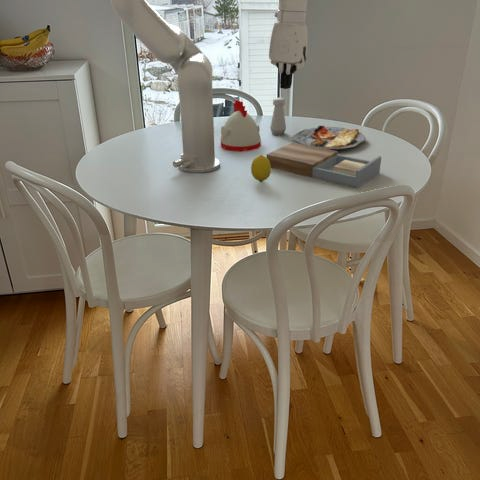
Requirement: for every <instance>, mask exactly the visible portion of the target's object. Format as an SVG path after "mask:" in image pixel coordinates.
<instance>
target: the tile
mask: <svg viewBox="0 0 480 480" xmlns="http://www.w3.org/2000/svg"><path fill="white" fill-rule="evenodd" d="M364 165H366V164H363V163H358V162H353V161H348V160H344V161H342V162H340V163H339V164H337V165H335V166H334V172H338V173H343V174H347V175H352V176H356V170H358V169H359V168H361V167H362V166H364Z"/></svg>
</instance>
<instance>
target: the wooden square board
mask: <svg viewBox="0 0 480 480" xmlns="http://www.w3.org/2000/svg"><path fill="white" fill-rule="evenodd" d="M337 154H338V150H331V149H323V148H318V147H313V146H309V145H305V144H302V143H299V142H298V143H297V142H291V143H289V144H286V145H284V146H282V147H280V148H277V149H274V150H272V151H271V152H268V153H266V158H268V160H269V161H270V164H271V169H274V170H278V171H283V172H287V173H291V174H295V175H299V176H302V177H309V178H312V174H313V168H314V167H315V166H317V165H319V164H321V163H323V162H324V161H326V160H328V159H330V158H332V157H334V156H335V155H337ZM312 179H313V178H312Z"/></svg>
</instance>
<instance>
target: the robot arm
mask: <svg viewBox="0 0 480 480" xmlns="http://www.w3.org/2000/svg"><path fill="white" fill-rule="evenodd" d="M109 2H110V4H111V7H112V9H113V11H114V12H115V14H116V16H117V17H118V18H119V20H120V21H121V22H122V23H123V24H124V25H125V26H126V28H127V29H129V30H130V31H131V33H132V34H133V35H134V36H135V37H136V38H137V39H138V41H139V42H140V43H141V44H143V46H144V47H145V48H146V49H147V50H148V51H149V52H150V53H151V54H152V55H153V57H154V58H156V60H157V61H159V62H161V63H163V64H169V66H170V67H172V69H173V70H174V71H175V72H177V73H176V74H177V89H178V97H179V109H180V113H179V114H180V121H181V122H180V123H181V139H182V153H181V154H180V158H179V159H176V160H174V161H173V162H172V166H173V168H175V169H176V168H178V169H180V170H181V171H184V172H187V173H188V172H189V173H193V174H195V173H197V174H201V173H209V172H212V171H215V170H217V169H219V168H220V166H221V161H220V160H219V159H217V158H216V157H215V156H216V155H215V131H214V130H215V128H214V124H215V123H214V104H213V103H214V102H213V101H214V100H213V99H214V98H213V65H212V62H211V61H210V59H209V58H208V57H207V55H205V53H204V52H202V50H201V49H200V48H199V47H198V46H197V45H196V44H195V43H194V42H193V40H191V39H190V37H188V35H187V34H186V33H185V32H184V31H183V30H182V29H181V28H179V27H178V26H176V25H173V24H169V23H168V22H167V21H166V20H165V19H164V18H163V17H162V16H161V15H160V14H159V13H158V12H157V10H156V9H155V8H154V7H153V6H152V5H151V4H149V2H147V0H109ZM307 7H308V0H278V10H277V12H275V13H274V17H275V18H277V19H276V20H277V21H276V22H274V24H273V28H272V31H271V36H270V42H269V49H268V50H269V51H268V58H269V60H270V64H272V65H273V66H275V67H276V68H277V69H278V73H279V74H280V77H279V87H280V89H283V90H287V89H291V87H292V84H293V75H294V74H295V72H296V71H298V70H301V69H304V68H306V65H305V62H306V61H307V54H308V45H309V44H308V42H309V41H308V38H309V37H308V27H307V24H306V16H307Z"/></svg>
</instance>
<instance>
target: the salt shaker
mask: <svg viewBox="0 0 480 480" xmlns="http://www.w3.org/2000/svg"><path fill="white" fill-rule="evenodd" d="M272 104H273V107H274V108H273V111H272V118H271V122H270V127H269V128H270V132H271V133H272V135H273V136H284V135H285V132H286V129H287V126H286V119H285V117H286V116H285V109H284V106H285V104H286V101H285V98H284V97H275V98H273V100H272Z"/></svg>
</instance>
